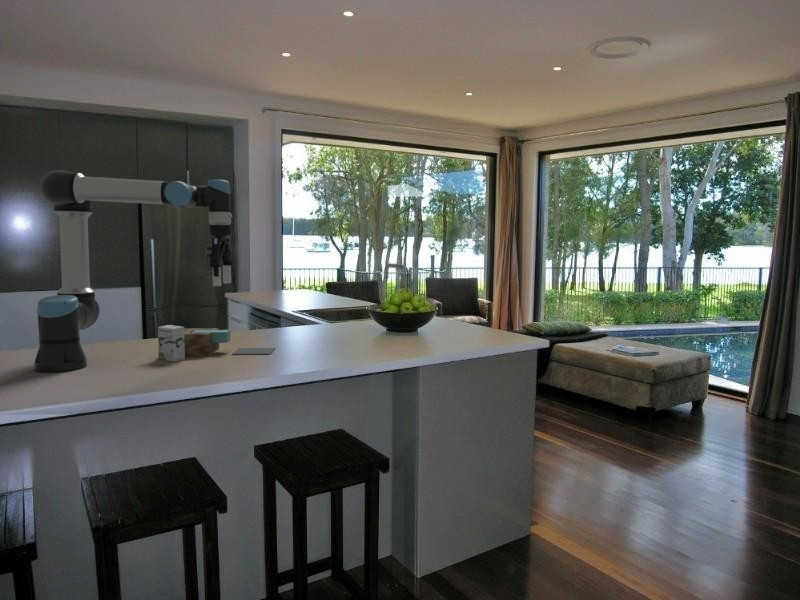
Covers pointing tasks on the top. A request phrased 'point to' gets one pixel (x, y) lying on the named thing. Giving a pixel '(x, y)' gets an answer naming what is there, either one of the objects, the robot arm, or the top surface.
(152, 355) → the top surface
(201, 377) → the top surface
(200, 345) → the block
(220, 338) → the slab
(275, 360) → the top surface
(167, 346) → the ink box
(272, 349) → the mat
